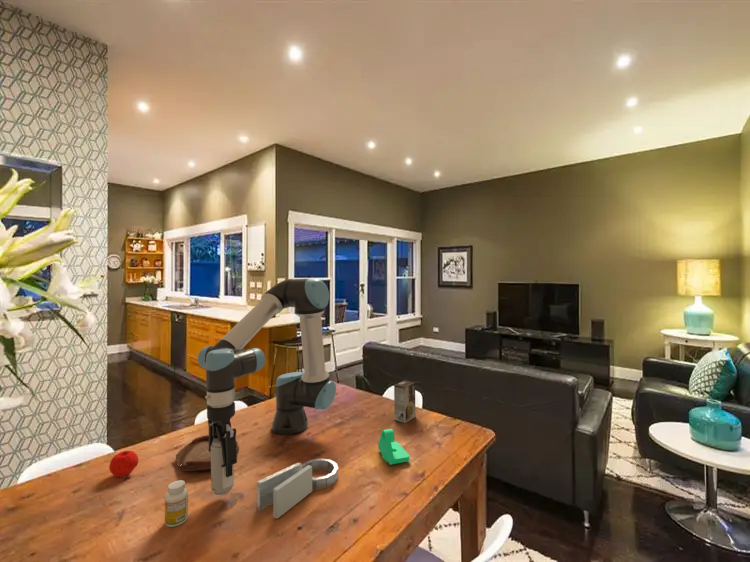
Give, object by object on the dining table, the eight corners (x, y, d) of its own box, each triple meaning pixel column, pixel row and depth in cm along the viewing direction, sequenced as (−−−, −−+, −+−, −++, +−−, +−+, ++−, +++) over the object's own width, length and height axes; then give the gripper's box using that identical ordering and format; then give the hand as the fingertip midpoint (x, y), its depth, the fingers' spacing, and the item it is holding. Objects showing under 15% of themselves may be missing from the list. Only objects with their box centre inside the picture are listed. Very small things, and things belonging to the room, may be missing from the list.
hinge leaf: (273, 516, 94) (273, 488, 94) (308, 489, 106) (308, 465, 106) (277, 518, 93) (277, 490, 93) (312, 491, 105) (312, 466, 105)
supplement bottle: (171, 514, 96) (170, 479, 96) (191, 513, 96) (191, 477, 96) (160, 528, 91) (160, 490, 91) (182, 526, 91) (182, 489, 91)
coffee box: (404, 413, 167) (403, 379, 167) (415, 416, 163) (415, 382, 163) (393, 420, 159) (393, 384, 159) (405, 423, 156) (405, 387, 156)
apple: (144, 470, 118) (144, 448, 118) (120, 483, 111) (120, 460, 111) (127, 466, 121) (127, 445, 121) (103, 479, 113) (103, 456, 113)
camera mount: (410, 463, 122) (410, 434, 122) (390, 467, 119) (389, 437, 119) (397, 448, 133) (397, 421, 133) (378, 451, 131) (378, 424, 131)
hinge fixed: (247, 499, 102) (247, 474, 102) (321, 463, 122) (321, 442, 122) (270, 519, 94) (269, 491, 94) (345, 477, 114) (345, 454, 114)
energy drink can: (217, 483, 106) (216, 434, 105) (237, 483, 106) (236, 434, 105) (207, 496, 100) (206, 444, 99) (228, 496, 100) (227, 444, 99)
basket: (166, 459, 126) (166, 445, 126) (222, 440, 141) (222, 427, 141) (190, 483, 111) (190, 468, 111) (250, 459, 125) (249, 445, 125)
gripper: (195, 399, 106) (196, 474, 106) (222, 415, 93) (224, 501, 93) (219, 392, 111) (221, 464, 112) (249, 407, 98) (250, 489, 99)
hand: (222, 481), depth 103 cm, fingers closed on energy drink can, 6 cm apart
